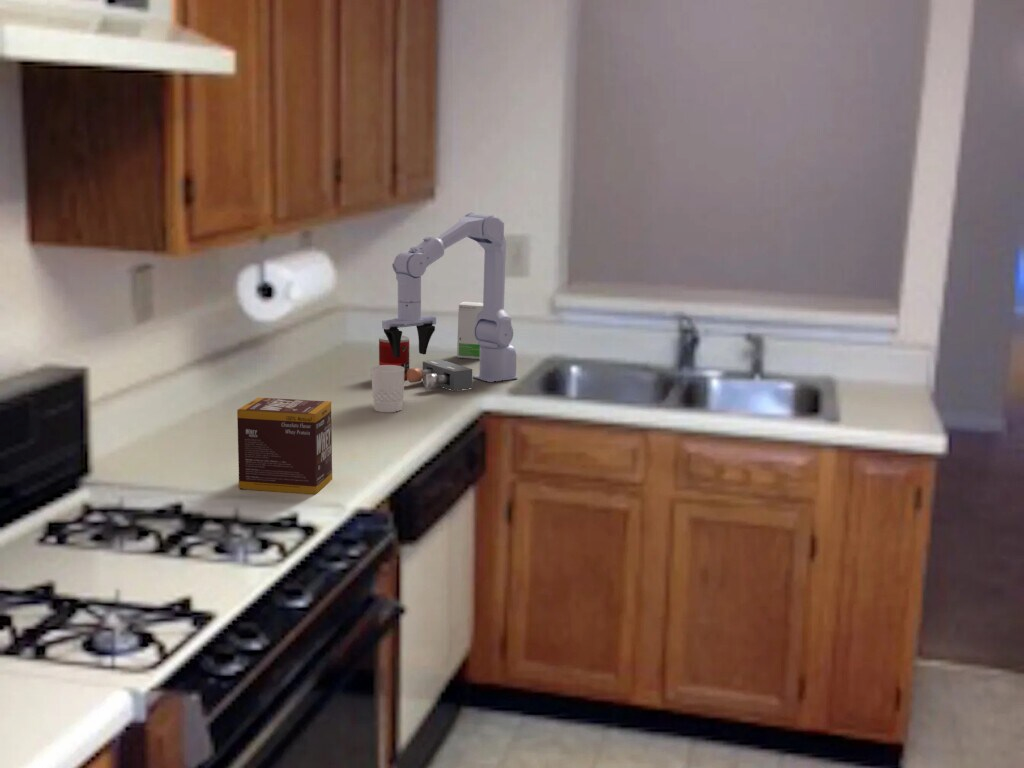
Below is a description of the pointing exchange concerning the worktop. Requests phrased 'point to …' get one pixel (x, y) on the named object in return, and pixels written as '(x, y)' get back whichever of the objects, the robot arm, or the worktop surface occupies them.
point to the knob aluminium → (435, 380)
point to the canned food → (387, 355)
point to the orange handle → (417, 374)
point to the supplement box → (285, 445)
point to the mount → (451, 374)
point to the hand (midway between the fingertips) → (409, 355)
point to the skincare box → (468, 330)
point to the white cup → (388, 387)
